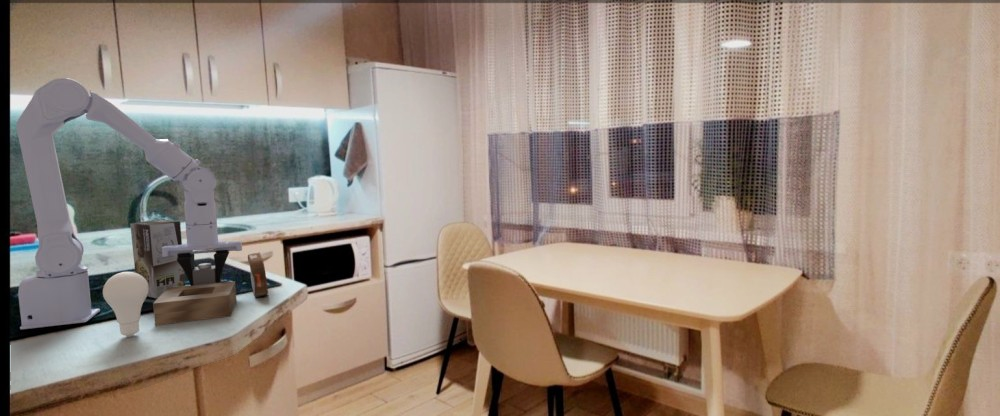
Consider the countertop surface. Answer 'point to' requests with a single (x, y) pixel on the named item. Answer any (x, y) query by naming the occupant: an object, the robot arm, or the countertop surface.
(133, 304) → the lightbulb
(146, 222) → the coffee box
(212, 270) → the plug
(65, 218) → the robot arm
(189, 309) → the holder
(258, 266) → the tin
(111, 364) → the countertop surface
